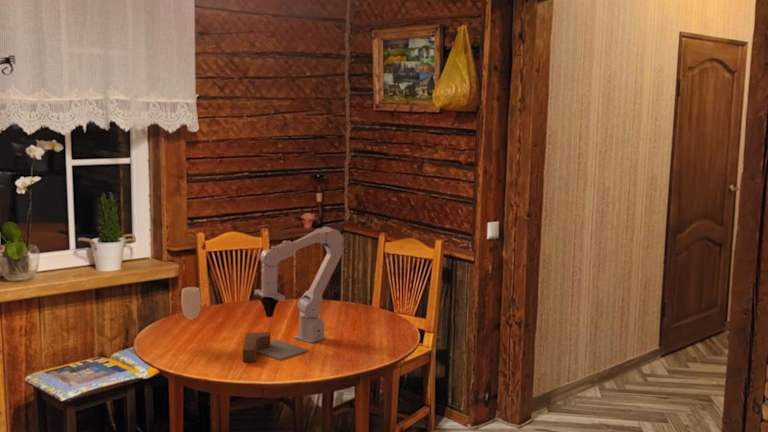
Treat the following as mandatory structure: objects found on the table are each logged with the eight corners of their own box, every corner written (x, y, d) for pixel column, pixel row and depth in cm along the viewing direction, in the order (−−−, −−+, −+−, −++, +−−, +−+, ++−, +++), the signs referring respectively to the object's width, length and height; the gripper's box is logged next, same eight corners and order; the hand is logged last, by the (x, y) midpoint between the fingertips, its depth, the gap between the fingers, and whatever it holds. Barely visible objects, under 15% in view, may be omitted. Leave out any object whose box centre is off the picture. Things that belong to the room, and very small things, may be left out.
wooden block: (270, 331, 285) (268, 348, 268) (270, 343, 286) (268, 361, 268) (245, 332, 284) (242, 350, 267) (246, 344, 285) (242, 362, 267)
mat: (308, 351, 281) (308, 349, 281) (280, 360, 270) (280, 359, 270) (276, 341, 291) (276, 339, 291) (248, 349, 281) (248, 348, 281)
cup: (205, 340, 290) (204, 287, 287) (195, 346, 283) (194, 292, 280) (188, 338, 292) (187, 286, 289) (178, 344, 285) (176, 290, 282)
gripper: (248, 280, 287) (248, 315, 289) (275, 286, 278) (275, 322, 280) (262, 277, 292) (262, 311, 294) (289, 283, 283) (289, 318, 285)
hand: (269, 316), depth 287 cm, fingers closed
